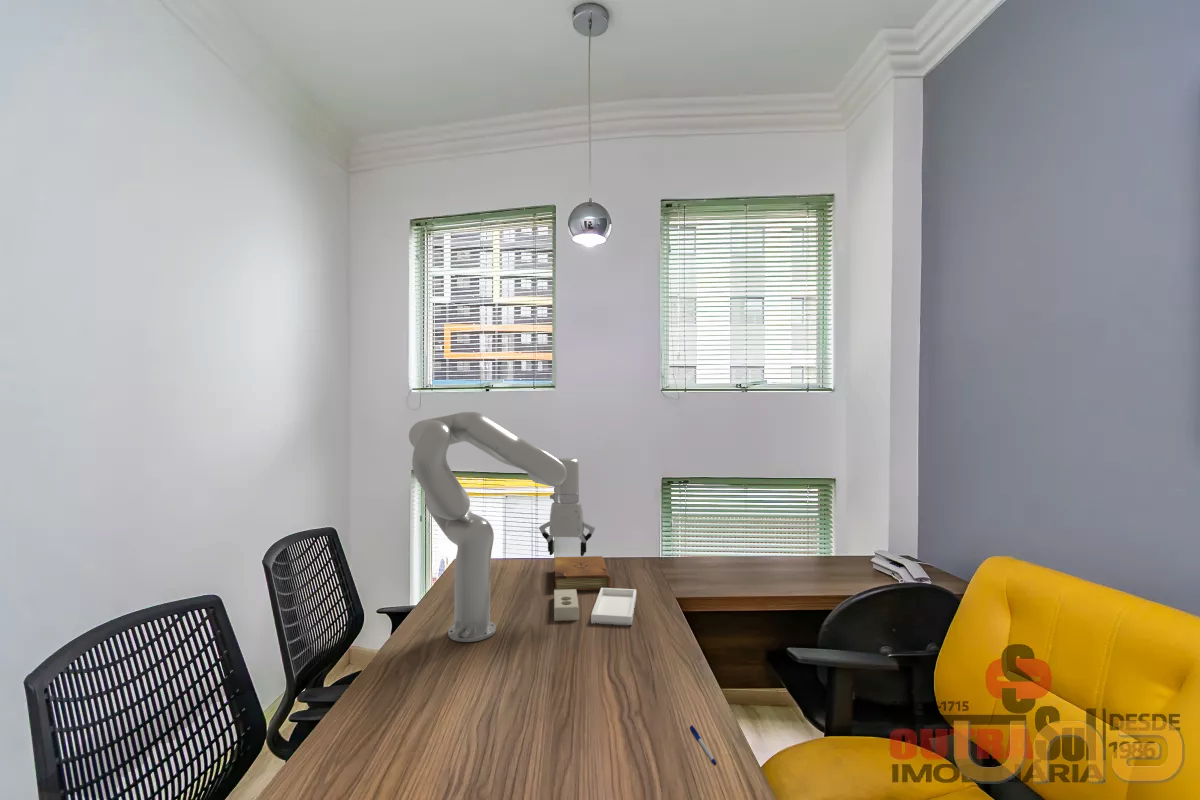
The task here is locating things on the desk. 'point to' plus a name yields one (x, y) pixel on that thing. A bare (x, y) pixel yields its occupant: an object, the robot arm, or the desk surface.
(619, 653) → the desk surface
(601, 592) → the holder tray
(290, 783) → the desk surface
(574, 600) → the electrical outlet
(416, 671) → the desk surface
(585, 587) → the diary
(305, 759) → the desk surface
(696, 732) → the ballpoint pen
